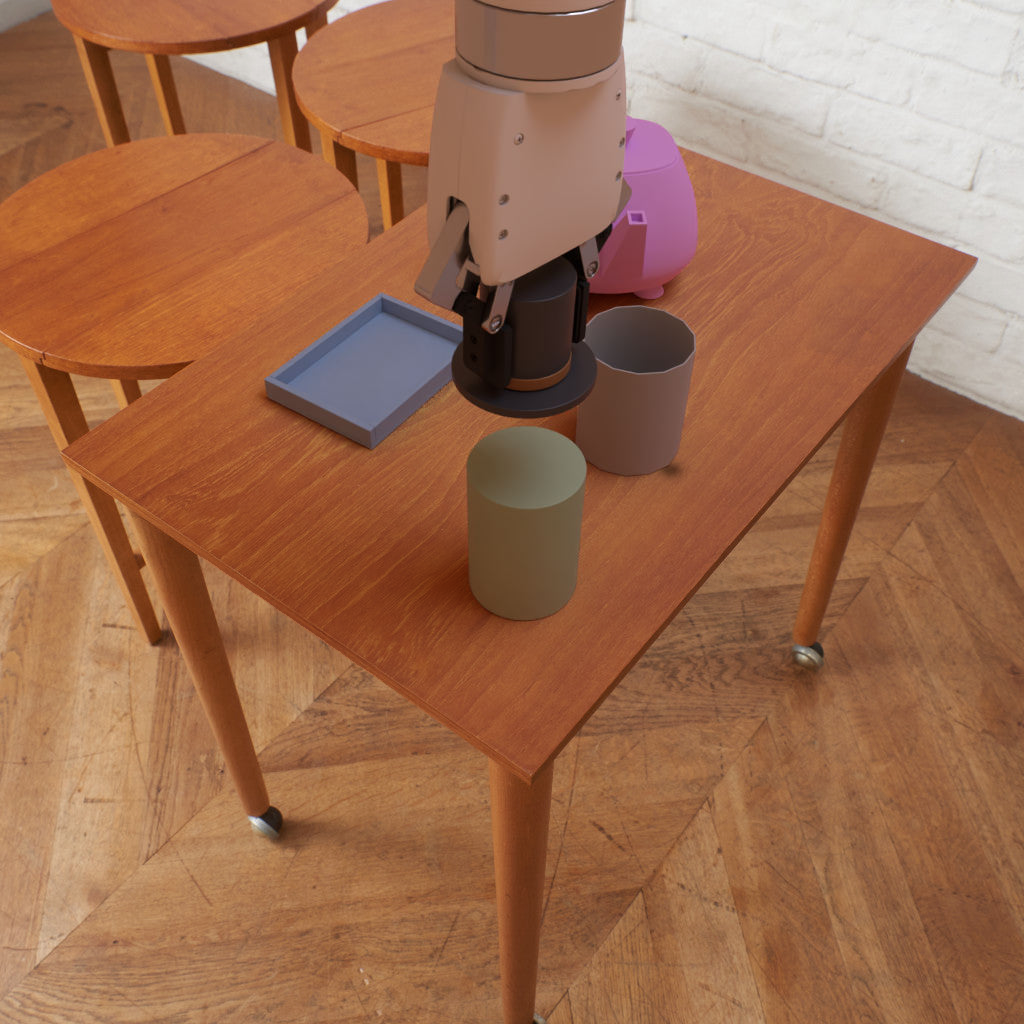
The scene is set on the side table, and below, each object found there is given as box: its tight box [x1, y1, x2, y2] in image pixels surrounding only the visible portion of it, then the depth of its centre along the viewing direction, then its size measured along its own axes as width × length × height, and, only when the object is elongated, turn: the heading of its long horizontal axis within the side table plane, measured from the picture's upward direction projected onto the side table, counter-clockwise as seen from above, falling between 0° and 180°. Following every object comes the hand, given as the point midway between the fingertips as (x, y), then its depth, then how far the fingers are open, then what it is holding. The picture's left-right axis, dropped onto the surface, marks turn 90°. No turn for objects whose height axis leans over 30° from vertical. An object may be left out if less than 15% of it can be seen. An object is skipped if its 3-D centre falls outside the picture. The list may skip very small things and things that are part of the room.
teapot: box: [587, 114, 699, 300], centre depth 94 cm, size 20×20×15 cm
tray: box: [263, 292, 463, 450], centre depth 89 cm, size 15×11×2 cm
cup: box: [574, 304, 697, 477], centre depth 81 cm, size 8×8×10 cm
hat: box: [451, 256, 597, 420], centre depth 58 cm, size 8×8×7 cm
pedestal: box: [465, 425, 588, 621], centre depth 70 cm, size 8×8×11 cm
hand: (524, 350), depth 60 cm, fingers closed on hat, 5 cm apart
